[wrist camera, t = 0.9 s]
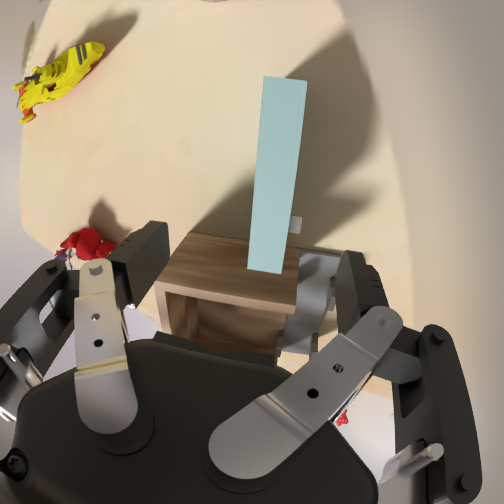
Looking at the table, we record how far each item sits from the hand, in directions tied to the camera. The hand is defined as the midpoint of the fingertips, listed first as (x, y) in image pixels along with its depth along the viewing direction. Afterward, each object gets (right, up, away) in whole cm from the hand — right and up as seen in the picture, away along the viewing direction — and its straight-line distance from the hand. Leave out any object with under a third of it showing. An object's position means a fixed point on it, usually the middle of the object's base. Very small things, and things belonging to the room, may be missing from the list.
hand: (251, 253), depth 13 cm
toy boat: (-26, +25, +16) cm, 40 cm away
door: (+4, +11, +18) cm, 22 cm away
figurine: (-28, +1, +31) cm, 42 cm away
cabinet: (+1, -7, +30) cm, 31 cm away
